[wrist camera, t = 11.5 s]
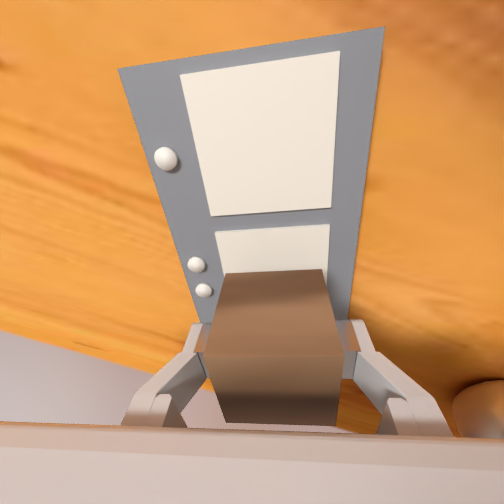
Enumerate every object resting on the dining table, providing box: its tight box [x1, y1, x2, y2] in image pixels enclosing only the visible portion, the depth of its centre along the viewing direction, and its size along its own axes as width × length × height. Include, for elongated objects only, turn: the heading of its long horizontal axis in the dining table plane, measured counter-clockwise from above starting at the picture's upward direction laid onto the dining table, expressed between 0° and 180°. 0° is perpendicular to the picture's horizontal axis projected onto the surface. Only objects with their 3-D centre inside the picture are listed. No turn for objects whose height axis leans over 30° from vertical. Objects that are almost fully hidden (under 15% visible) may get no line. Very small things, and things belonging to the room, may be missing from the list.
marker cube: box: [203, 269, 345, 426], centre depth 11 cm, size 4×4×4 cm
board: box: [118, 26, 385, 323], centre depth 15 cm, size 21×10×1 cm, turn 7°
